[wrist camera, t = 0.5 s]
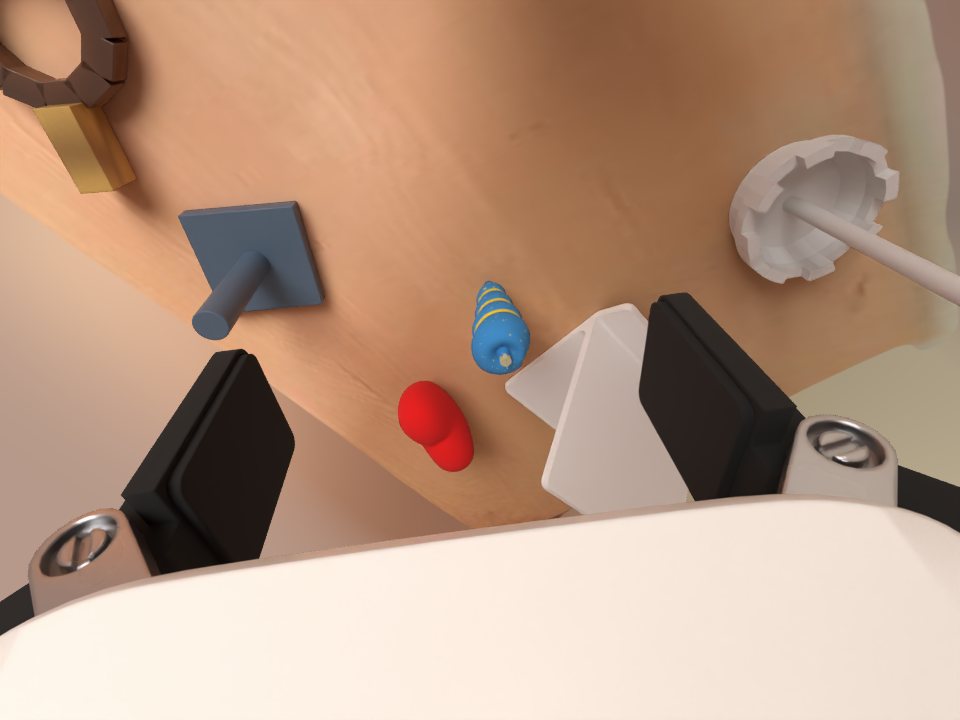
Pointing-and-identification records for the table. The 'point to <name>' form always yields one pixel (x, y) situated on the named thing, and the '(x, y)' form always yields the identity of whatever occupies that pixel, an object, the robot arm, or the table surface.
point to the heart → (436, 425)
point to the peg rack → (250, 262)
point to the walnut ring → (80, 98)
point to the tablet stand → (599, 417)
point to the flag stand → (823, 213)
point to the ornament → (498, 332)
